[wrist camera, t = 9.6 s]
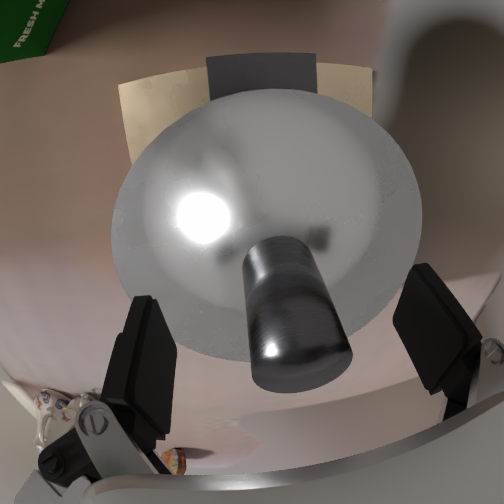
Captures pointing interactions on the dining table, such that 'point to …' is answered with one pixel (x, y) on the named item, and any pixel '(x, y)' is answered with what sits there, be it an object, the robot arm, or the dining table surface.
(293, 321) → the lid
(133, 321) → the robot arm
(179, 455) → the tin
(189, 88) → the pot
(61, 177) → the dining table surface
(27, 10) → the soya milk
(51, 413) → the chinaware
